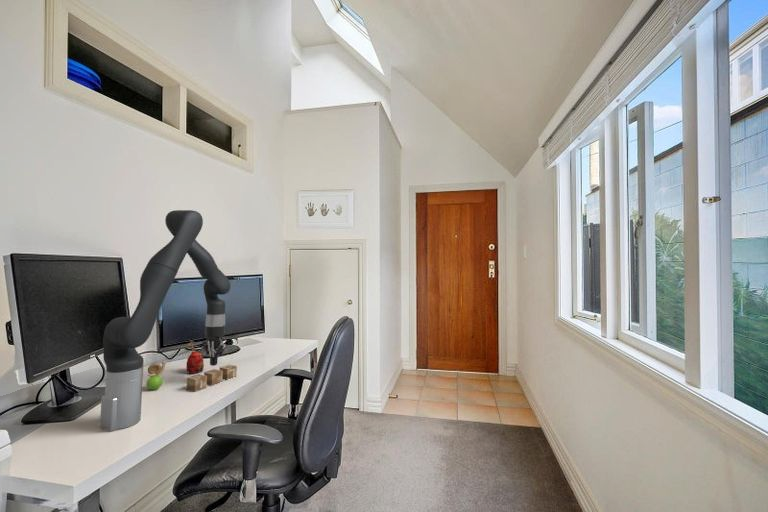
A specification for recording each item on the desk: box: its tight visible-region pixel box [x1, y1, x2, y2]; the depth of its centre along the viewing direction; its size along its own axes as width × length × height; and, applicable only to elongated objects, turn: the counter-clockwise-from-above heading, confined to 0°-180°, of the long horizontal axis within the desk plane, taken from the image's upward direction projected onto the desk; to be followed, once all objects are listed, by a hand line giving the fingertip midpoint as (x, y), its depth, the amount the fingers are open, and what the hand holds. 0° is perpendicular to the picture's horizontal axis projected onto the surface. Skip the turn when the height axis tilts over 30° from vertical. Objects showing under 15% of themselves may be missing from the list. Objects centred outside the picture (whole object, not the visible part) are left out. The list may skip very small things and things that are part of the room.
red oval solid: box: [185, 339, 205, 375], centre depth 152 cm, size 8×7×15 cm
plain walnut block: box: [203, 368, 223, 387], centre depth 138 cm, size 5×5×5 cm
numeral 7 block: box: [218, 364, 238, 381], centre depth 145 cm, size 5×5×5 cm
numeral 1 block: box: [186, 373, 208, 393], centre depth 132 cm, size 5×5×5 cm
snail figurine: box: [145, 357, 167, 391], centre depth 131 cm, size 5×6×12 cm
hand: (213, 365), depth 139 cm, fingers closed
